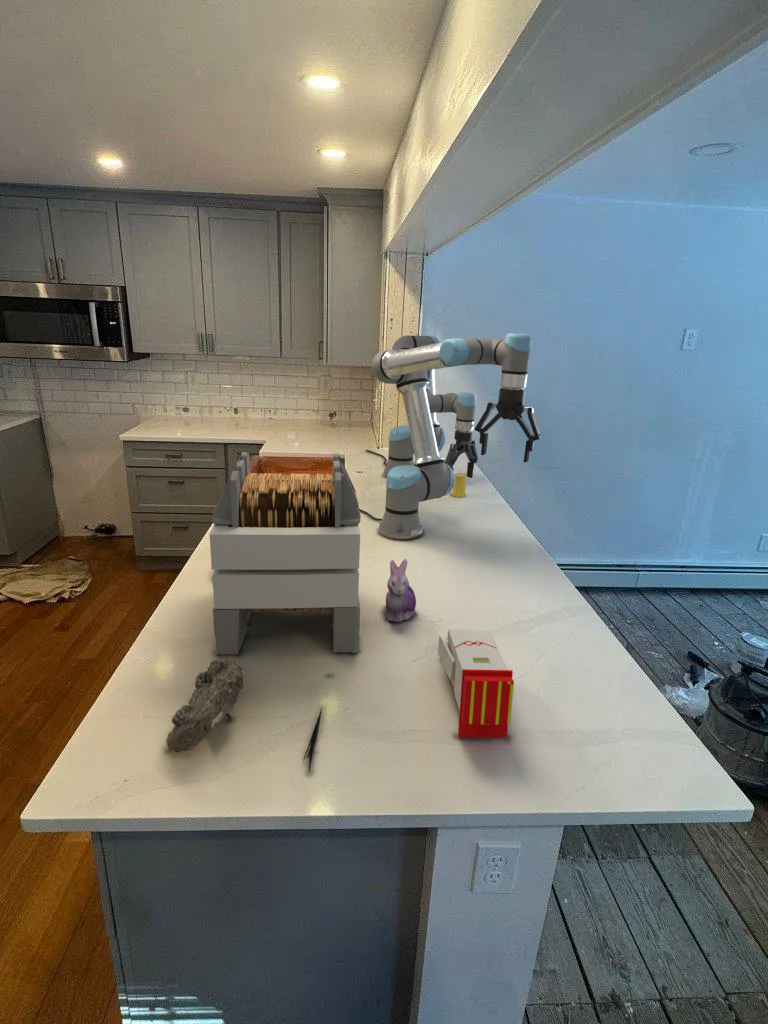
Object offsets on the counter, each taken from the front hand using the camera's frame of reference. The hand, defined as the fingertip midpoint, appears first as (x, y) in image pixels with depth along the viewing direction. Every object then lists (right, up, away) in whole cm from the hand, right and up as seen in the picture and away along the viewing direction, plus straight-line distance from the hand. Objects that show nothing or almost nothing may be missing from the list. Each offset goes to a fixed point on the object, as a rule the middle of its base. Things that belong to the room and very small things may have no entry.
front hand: (504, 457), depth 175 cm
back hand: (-5, -3, +68) cm, 68 cm away
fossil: (-70, -56, -67) cm, 112 cm away
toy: (-19, -54, -56) cm, 81 cm away
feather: (-50, -56, -66) cm, 100 cm away
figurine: (-33, -43, -28) cm, 61 cm away
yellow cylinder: (-5, -9, +70) cm, 71 cm away
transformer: (-61, -43, -31) cm, 81 cm away
